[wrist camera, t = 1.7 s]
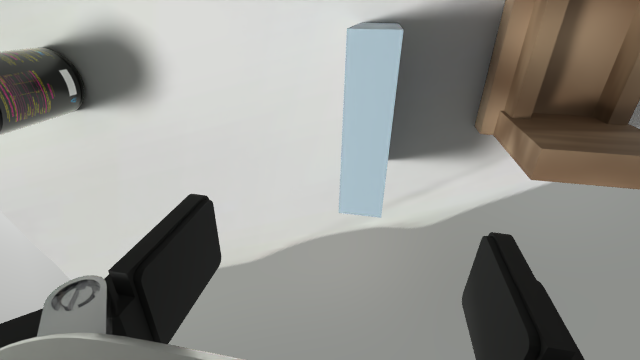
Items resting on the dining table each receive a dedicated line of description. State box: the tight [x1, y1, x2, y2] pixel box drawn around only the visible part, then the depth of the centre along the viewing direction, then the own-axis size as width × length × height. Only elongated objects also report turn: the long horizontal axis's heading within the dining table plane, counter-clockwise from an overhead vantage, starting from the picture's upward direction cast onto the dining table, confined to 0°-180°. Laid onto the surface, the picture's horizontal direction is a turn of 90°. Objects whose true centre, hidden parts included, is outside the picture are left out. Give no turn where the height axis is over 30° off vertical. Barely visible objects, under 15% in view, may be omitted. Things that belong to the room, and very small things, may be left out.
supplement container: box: [0, 48, 84, 135], centre depth 29 cm, size 7×7×10 cm
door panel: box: [339, 23, 403, 218], centre depth 24 cm, size 12×3×10 cm, turn 179°
